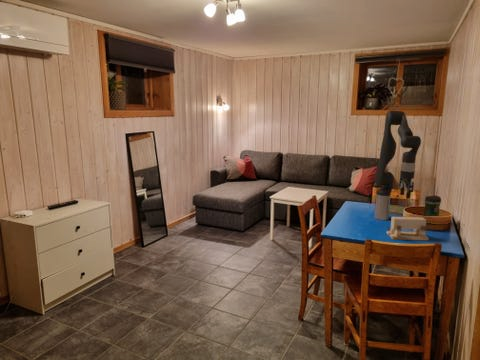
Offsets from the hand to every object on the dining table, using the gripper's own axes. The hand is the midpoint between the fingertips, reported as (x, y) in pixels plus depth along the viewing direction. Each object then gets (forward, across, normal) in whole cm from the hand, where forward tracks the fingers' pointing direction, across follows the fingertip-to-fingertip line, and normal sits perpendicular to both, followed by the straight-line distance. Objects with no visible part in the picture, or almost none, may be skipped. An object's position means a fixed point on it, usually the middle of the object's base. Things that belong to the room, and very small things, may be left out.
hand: (404, 196), depth 203 cm
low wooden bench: (+24, +4, +2) cm, 24 cm away
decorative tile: (+26, -52, +18) cm, 61 cm away
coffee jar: (+24, -26, +30) cm, 47 cm away
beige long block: (+18, +4, +2) cm, 19 cm away
